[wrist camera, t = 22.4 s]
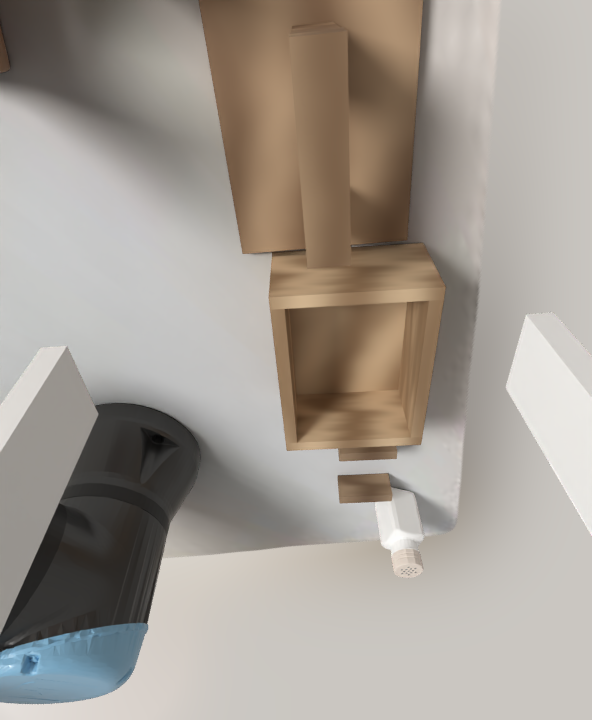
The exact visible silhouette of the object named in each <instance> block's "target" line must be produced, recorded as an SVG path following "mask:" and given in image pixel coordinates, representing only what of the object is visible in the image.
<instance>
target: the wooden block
mask: <svg viewBox="0 0 592 720" xmlns="http://www.w3.org/2000/svg"><path fill="white" fill-rule="evenodd" d="M9 70H10V64H9V60H8V55H7V51H6V47H5V43H4V38H3V34H2V30H1V25H0V73H3V72H7V71H9Z"/></svg>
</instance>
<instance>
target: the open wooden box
mask: <svg viewBox="0 0 592 720" xmlns="http://www.w3.org/2000/svg"><path fill="white" fill-rule="evenodd" d="M445 290H446V286H445V284H444V282H443V280H442V279H441V277H440V275H439V273H438V271H437V269H436V267H435V265H434V263H433V261H432V259H431V257H430V255H429V253H428V251H427V249H426V247H425V245H424V244H423V243H411V244H395V245H379V246H363V247H351V266H341V267H329V268H316V269H307V257H306V250H299V251H282V252H272V263H271V275H270V288H269V304H270V313H271V321H272V330H273V338H274V347H275V355H276V363H277V372H278V380H279V389H280V397H281V406H282V414H283V423H284V431H285V440H286V448H287V451H292V450H314V449H336V448H358V447H380V446H402V445H421V442H422V435H423V429H424V423H425V416H426V410H427V404H428V397H429V391H430V385H431V378H432V372H433V366H434V359H435V353H436V347H437V340H438V334H439V328H440V321H441V315H442V309H443V302H444V296H445Z"/></svg>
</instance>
